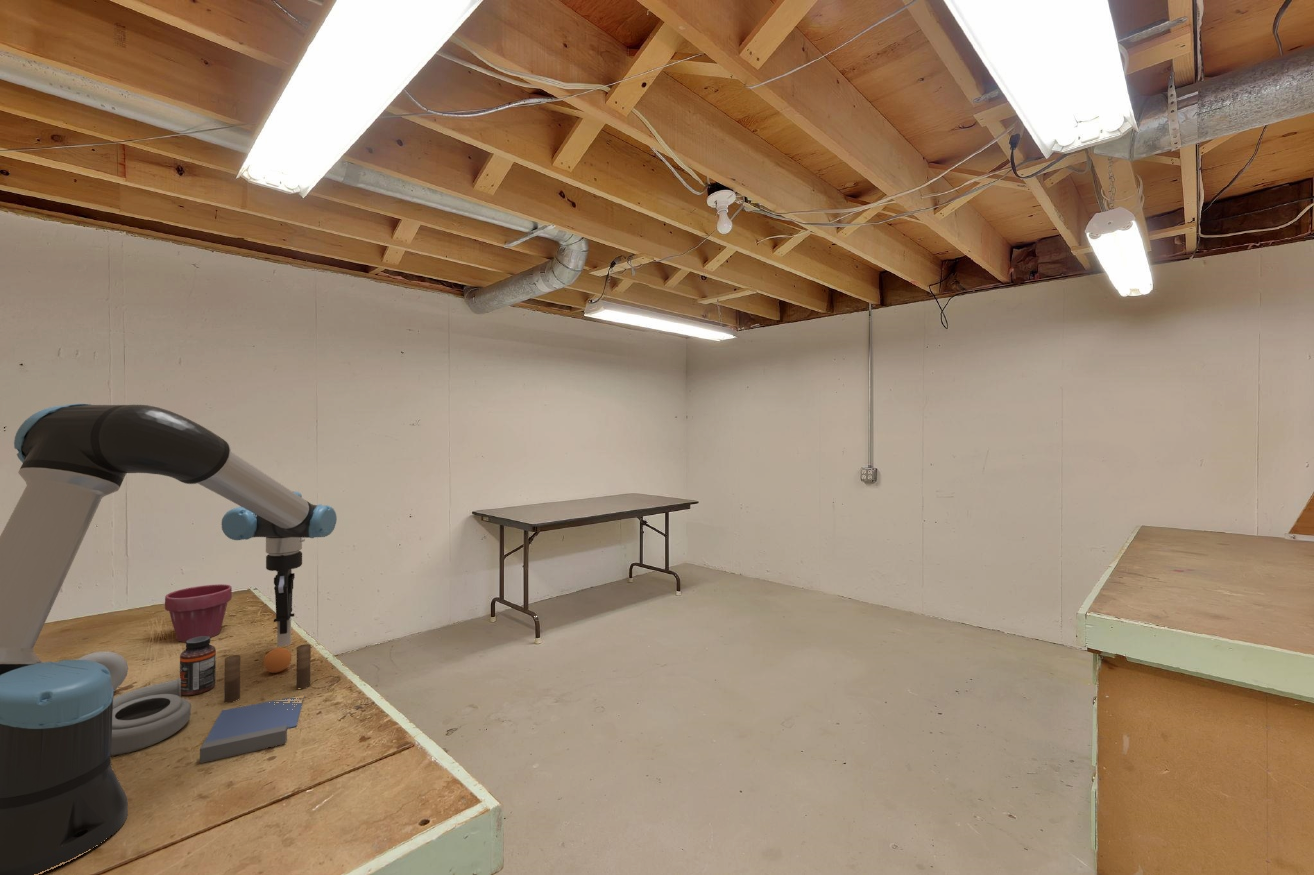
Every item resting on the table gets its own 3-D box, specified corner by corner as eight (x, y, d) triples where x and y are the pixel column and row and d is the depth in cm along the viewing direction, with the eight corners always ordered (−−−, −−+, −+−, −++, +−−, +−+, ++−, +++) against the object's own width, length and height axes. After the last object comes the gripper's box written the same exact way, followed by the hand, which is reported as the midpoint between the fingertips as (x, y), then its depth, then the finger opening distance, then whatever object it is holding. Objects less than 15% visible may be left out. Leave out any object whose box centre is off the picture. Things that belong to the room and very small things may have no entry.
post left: (238, 701, 110) (238, 658, 110) (222, 703, 109) (223, 660, 109) (241, 695, 113) (241, 653, 113) (225, 698, 111) (226, 656, 111)
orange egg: (289, 673, 123) (290, 650, 123) (261, 678, 121) (261, 654, 121) (293, 664, 128) (293, 642, 128) (265, 669, 126) (265, 646, 126)
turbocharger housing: (71, 778, 87) (191, 742, 98) (71, 740, 87) (191, 709, 97) (83, 729, 100) (189, 702, 110) (83, 696, 99) (189, 672, 110)
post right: (309, 687, 116) (310, 647, 116) (295, 690, 115) (295, 649, 115) (310, 682, 119) (311, 643, 119) (297, 685, 117) (297, 645, 118)
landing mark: (296, 726, 101) (296, 725, 101) (202, 746, 94) (202, 745, 94) (304, 695, 113) (304, 694, 113) (222, 711, 106) (222, 710, 106)
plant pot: (182, 629, 152) (183, 585, 152) (240, 624, 156) (240, 581, 156) (152, 648, 138) (152, 600, 138) (216, 642, 142) (216, 595, 142)
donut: (58, 711, 106) (59, 661, 106) (59, 705, 108) (59, 657, 108) (128, 693, 113) (129, 647, 113) (127, 688, 116) (128, 643, 116)
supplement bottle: (174, 692, 114) (174, 640, 114) (207, 681, 119) (208, 632, 119) (186, 699, 111) (187, 646, 111) (220, 687, 116) (221, 636, 116)
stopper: (285, 744, 95) (285, 730, 95) (199, 763, 89) (199, 748, 89) (286, 738, 97) (287, 725, 97) (203, 757, 91) (203, 742, 91)
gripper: (299, 556, 129) (298, 651, 129) (305, 546, 140) (304, 633, 141) (261, 559, 125) (261, 657, 125) (270, 549, 137) (270, 638, 137)
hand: (284, 644), depth 133 cm, fingers closed
